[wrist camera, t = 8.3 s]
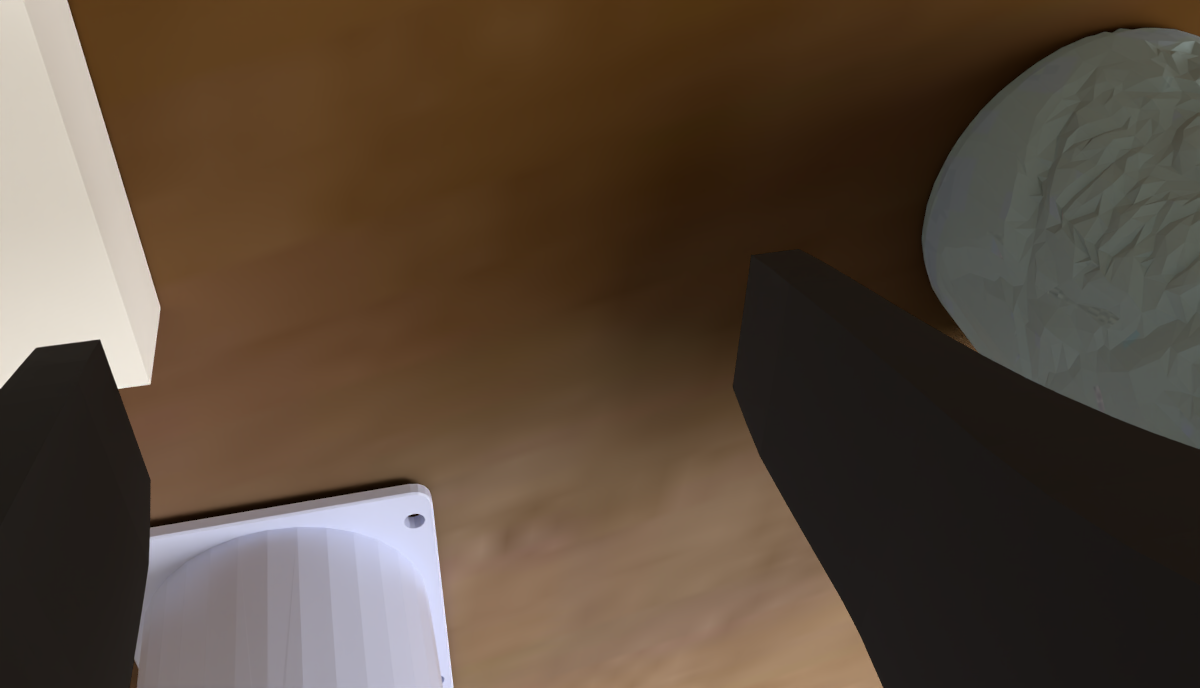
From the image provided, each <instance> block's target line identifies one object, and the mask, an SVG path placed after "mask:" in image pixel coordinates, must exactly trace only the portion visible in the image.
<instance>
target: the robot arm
mask: <svg viewBox="0 0 1200 688" xmlns="http://www.w3.org/2000/svg"><path fill="white" fill-rule="evenodd" d="M733 389H734V392H735V394H736V397H737V400H738V402H739V405H740V408H741V410H742V413H743V416H744V418H745V421H746V424H747V426H748V428H749V431H750V433H751V436H752V438H753V441H754V443H755V445H756V448H757V450H758V453H759V455H760V457H761V459H762V461H763V463H764V464H765V466H766V468H767V470H768V472H769V473H770V475H771V477H772V479H773V481H774V482H775V484H776V486H777V488H778V489H779V491H780V493H781V495H782V497H783V498H784V500H785V502H786V504H787V505H788V507H789V509H790V511H791V512H792V514H793V516H794V518H795V519H796V521H797V523H798V525H799V526H800V528H801V530H802V531H803V533H804V535H805V537H806V538H807V540H808V542H809V544H810V545H811V547H812V549H813V551H814V552H815V554H816V556H817V558H818V559H819V561H820V563H821V564H822V566H823V568H824V570H825V571H826V573H827V575H828V577H829V578H830V580H831V582H832V584H833V585H834V587H835V589H836V590H837V592H838V594H839V596H840V597H841V599H842V601H843V603H844V605H845V607H846V609H847V611H848V612H849V614H850V616H851V618H852V620H853V622H854V624H855V626H856V628H857V630H858V632H859V634H860V636H861V638H862V640H863V643H864V645H865V647H866V649H867V652H868V654H869V656H870V658H871V661H872V663H873V665H874V668H875V670H876V672H877V674H878V677H879V679H880V681H881V683H882V686H883V688H1200V449H1197V448H1195V447H1192V446H1189V445H1186V444H1183V443H1181V442H1178V441H1175V440H1172V439H1169V438H1166V437H1164V436H1161V435H1158V434H1155V433H1152V432H1150V431H1147V430H1145V429H1142V428H1140V427H1137V426H1135V425H1132V424H1129V423H1127V422H1124V421H1122V420H1119V419H1117V418H1114V417H1112V416H1110V415H1107V414H1105V413H1103V412H1101V411H1098V410H1096V409H1094V408H1091V407H1089V406H1087V405H1084V404H1082V403H1080V402H1078V401H1075V400H1073V399H1071V398H1068V397H1066V396H1064V395H1061V394H1059V393H1057V392H1055V391H1053V390H1051V389H1048V388H1046V387H1044V386H1042V385H1040V384H1038V383H1036V382H1034V381H1032V380H1030V379H1028V378H1026V377H1024V376H1022V375H1020V374H1018V373H1016V372H1014V371H1012V370H1010V369H1008V368H1006V367H1004V366H1002V365H1001V364H999V363H997V362H995V361H993V360H991V359H989V358H987V357H985V356H983V355H981V354H979V353H977V352H976V351H974V350H972V349H970V348H968V347H967V346H965V345H963V344H961V343H959V342H958V341H956V340H954V339H952V338H950V337H949V336H947V335H945V334H943V333H942V332H940V331H938V330H936V329H935V328H933V327H931V326H930V325H928V324H926V323H924V322H923V321H921V320H919V319H918V318H916V317H914V316H913V315H911V314H909V313H908V312H906V311H904V310H903V309H901V308H899V307H897V306H896V305H894V304H892V303H891V302H889V301H888V300H886V299H884V298H883V297H881V296H879V295H878V294H876V293H874V292H873V291H871V290H869V289H868V288H866V287H864V286H863V285H861V284H859V283H858V282H856V281H854V280H853V279H851V278H850V277H848V276H846V275H844V274H843V273H841V272H839V271H838V270H836V269H834V268H833V267H831V266H829V265H827V264H826V263H824V262H822V261H820V260H819V259H817V258H815V257H813V256H811V255H809V254H807V253H805V252H803V251H801V250H799V249H796V250H789V251H781V252H773V253H765V254H758V255H751V261H750V268H749V275H748V282H747V289H746V296H745V303H744V311H743V318H742V325H741V332H740V339H739V346H738V353H737V360H736V368H735V375H734V382H733ZM412 514H419V515H418V516H415V517H408V516H409V515H412ZM134 660H135V662H136V664H137V667H138V669H139V671H138V680H137V688H453V679H452V671H451V662H450V653H449V644H448V635H447V627H446V618H445V609H444V600H443V591H442V583H441V574H440V565H439V556H438V547H437V539H436V530H435V521H434V512H433V503H432V498H431V493H430V491H429V489H428V488H426V487H425V486H424V485H420V484H406V485H400V486H394V487H388V488H382V489H376V490H370V491H364V492H358V493H353V494H347V495H341V496H335V497H329V498H323V499H317V500H311V501H305V502H299V503H293V504H288V505H282V506H276V507H270V508H264V509H258V510H252V511H246V512H240V513H234V514H229V515H223V516H217V517H211V518H205V519H199V520H193V521H187V522H181V523H175V524H169V525H164V526H158V527H152V528H150V477H149V474H148V472H147V469H146V466H145V463H144V461H143V458H142V455H141V452H140V449H139V447H138V444H137V441H136V438H135V435H134V433H133V430H132V427H131V424H130V421H129V419H128V416H127V413H126V410H125V408H124V405H123V402H122V399H121V396H120V394H119V391H118V388H117V385H116V382H115V380H114V377H113V374H112V371H111V368H110V366H109V363H108V360H107V357H106V354H105V352H104V349H103V346H102V343H101V341H100V339H99V340H91V341H83V342H75V343H68V344H60V345H52V346H44V347H37V348H35V349H34V350H33V352H32V353H31V354H30V355H29V356H28V357H27V358H26V359H25V361H24V362H23V363H22V364H21V365H20V366H19V368H18V369H17V370H16V371H15V372H14V373H13V375H12V376H11V377H10V378H9V379H8V381H7V382H6V383H5V384H4V385H3V386H2V388H1V389H0V688H129V687H130V681H131V675H132V669H133V663H134Z"/></svg>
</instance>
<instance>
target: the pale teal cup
mask: <svg viewBox="0 0 1200 688" xmlns="http://www.w3.org/2000/svg"><path fill="white" fill-rule="evenodd" d="M922 247H923V256H924V262H925V266H926V270H927V274H928V277H929V280H930V283H931V286H932V289H933V291H934V292H935V294H936V295H937V297H938V299H939V300H940V302H941V304H942V305H943V306H944V308H945V309H946V310H947V312H948V313H949V314H950V316H951V317H952V318H953V320H954V321H955V322H956V324H957V325H958V326H959V328H960V329H961V330H962V332H963V333H964V334H965V336H966V337H967V338H968V339H969V341H970V342H971V343H972V345H973V346H974V347H975V349H976V350H977V351H978V353H979V354H981V355H983V356H985V357H987V358H989V359H991V360H993V361H995V362H997V363H999V364H1001V365H1002V366H1004V367H1006V368H1008V369H1010V370H1012V371H1014V372H1016V373H1018V374H1020V375H1022V376H1024V377H1026V378H1028V379H1030V380H1032V381H1034V382H1036V383H1038V384H1040V385H1042V386H1044V387H1046V388H1048V389H1051V390H1053V391H1055V392H1057V393H1059V394H1061V395H1064V396H1066V397H1068V398H1071V399H1073V400H1075V401H1078V402H1080V403H1082V404H1084V405H1087V406H1089V407H1091V408H1094V409H1096V410H1098V411H1101V412H1103V413H1105V414H1107V415H1110V416H1112V417H1114V418H1117V419H1119V420H1122V421H1124V422H1127V423H1129V424H1132V425H1135V426H1137V427H1140V428H1142V429H1145V430H1147V431H1150V432H1152V433H1155V434H1158V435H1161V436H1164V437H1166V438H1169V439H1172V440H1175V441H1178V442H1181V443H1183V444H1186V445H1189V446H1192V447H1195V448H1197V449H1200V37H1198V36H1196V35H1192V34H1189V33H1186V32H1183V31H1179V30H1176V29H1164V28H1139V29H1134V30H1131V29H1122V28H1120V29H1118V30H1116V31H1115V32H1113V33H1110V32H1102V33H1100V34H1097V35H1093V36H1089V37H1085V38H1083V39H1080V40H1078V41H1076V42H1074V43H1071V44H1069V45H1067V46H1064V47H1062V48H1060V49H1059V50H1057V51H1055V52H1054V53H1052V54H1050V55H1049V56H1047V57H1045V58H1044V59H1042V60H1040V61H1039V62H1037V63H1036V64H1034V65H1033V66H1032V67H1030V68H1029V69H1028V70H1026V71H1025V72H1024V73H1022V74H1021V75H1019V76H1018V77H1017V78H1016V79H1015V80H1013V81H1012V82H1011V83H1010V84H1008V85H1007V86H1006V87H1005V88H1003V89H1002V90H1001V91H1000V92H999V93H998V94H997V95H996V96H995V97H994V98H993V99H992V100H991V101H990V102H989V103H988V104H987V105H986V106H985V107H984V108H983V109H982V110H981V111H980V112H979V113H978V115H977V116H976V117H975V118H974V119H973V121H972V122H971V123H970V124H969V126H968V127H967V128H966V130H965V131H964V132H963V134H962V135H961V136H960V138H959V139H958V140H957V142H956V144H955V145H954V147H953V148H952V150H951V152H950V153H949V155H948V157H947V159H946V161H945V163H944V165H943V167H942V169H941V171H940V173H939V175H938V177H937V179H936V181H935V183H934V185H933V188H932V191H931V194H930V197H929V200H928V203H927V208H926V213H925V218H924V224H923V231H922Z"/></svg>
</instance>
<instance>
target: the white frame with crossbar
mask: <svg viewBox="0 0 1200 688" xmlns="http://www.w3.org/2000/svg"><path fill="white" fill-rule="evenodd" d="M160 309H161V308H160V304H159V301H158V298H157V294H156V291H155V288H154V284H153V281H152V278H151V275H150V271H149V268H148V265H147V261H146V258H145V255H144V252H143V248H142V245H141V242H140V238H139V235H138V232H137V229H136V225H135V222H134V219H133V215H132V212H131V209H130V205H129V202H128V199H127V196H126V192H125V189H124V186H123V182H122V179H121V176H120V173H119V169H118V166H117V163H116V159H115V156H114V153H113V149H112V146H111V143H110V140H109V136H108V133H107V130H106V126H105V123H104V120H103V117H102V113H101V110H100V107H99V103H98V100H97V97H96V94H95V90H94V87H93V84H92V80H91V77H90V74H89V70H88V67H87V64H86V61H85V57H84V54H83V51H82V47H81V44H80V41H79V38H78V34H77V31H76V28H75V24H74V21H73V18H72V14H71V11H70V8H69V5H68V1H67V0H0V389H1V388H2V386H3V385H4V384H5V383H6V382H7V381H8V379H9V378H10V377H11V376H12V375H13V373H14V372H15V371H16V370H17V369H18V368H19V366H20V365H21V364H22V363H23V362H24V361H25V359H26V358H27V357H28V356H29V355H30V354H31V353H32V352H33V350H34V349H35V348H37V347H44V346H52V345H60V344H68V343H75V342H83V341H91V340H99V339H100V341H101V343H102V346H103V349H104V352H105V354H106V357H107V360H108V363H109V366H110V368H111V371H112V374H113V377H114V380H115V382H116V385H117V388H118V389H120V388H128V387H135V386H142V385H149V384H150V383H151V376H152V368H153V361H154V353H155V346H156V339H157V331H158V324H159V316H160Z"/></svg>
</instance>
